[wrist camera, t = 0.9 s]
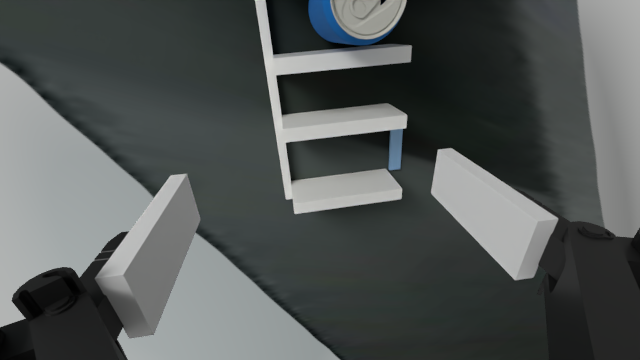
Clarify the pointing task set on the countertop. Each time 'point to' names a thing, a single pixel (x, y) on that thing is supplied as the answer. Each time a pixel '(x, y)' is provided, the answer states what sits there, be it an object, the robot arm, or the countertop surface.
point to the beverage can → (355, 19)
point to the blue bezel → (395, 149)
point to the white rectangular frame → (332, 123)
